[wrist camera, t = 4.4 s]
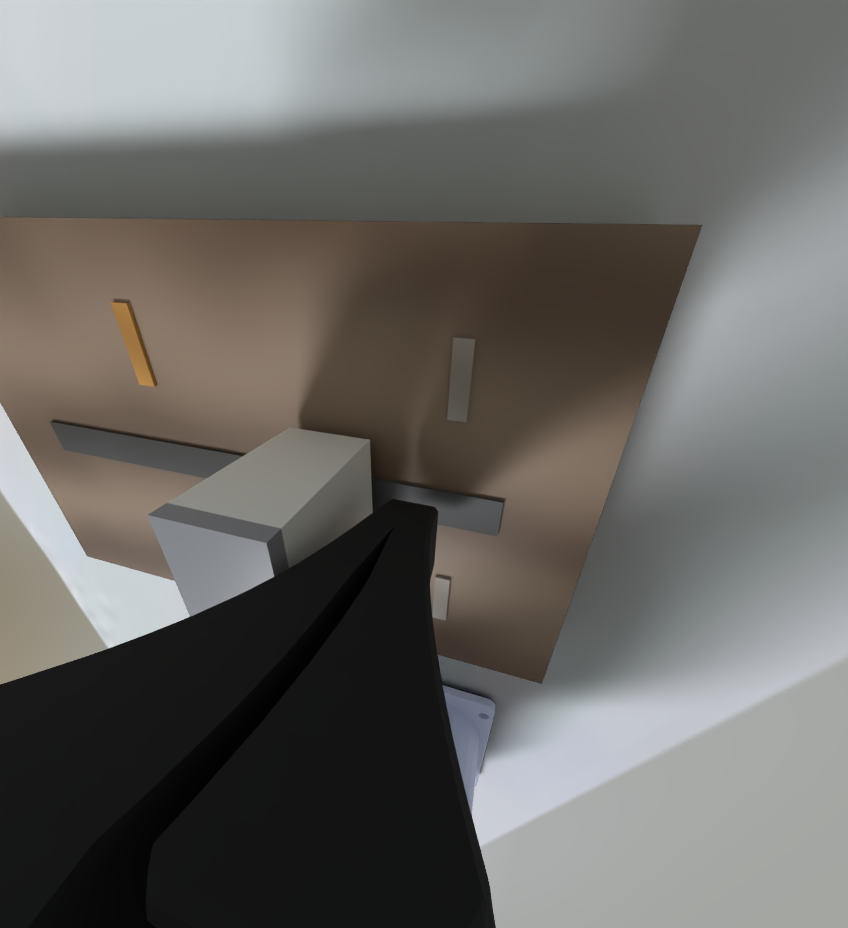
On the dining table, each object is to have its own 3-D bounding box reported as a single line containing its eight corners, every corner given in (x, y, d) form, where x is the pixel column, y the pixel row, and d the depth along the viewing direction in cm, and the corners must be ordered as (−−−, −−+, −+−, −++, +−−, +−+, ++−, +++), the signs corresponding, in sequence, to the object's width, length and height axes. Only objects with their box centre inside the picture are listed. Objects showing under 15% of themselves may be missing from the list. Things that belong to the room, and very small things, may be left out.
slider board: (540, 625, 15) (541, 686, 13) (135, 525, 20) (84, 557, 17) (657, 239, 8) (705, 224, 6) (0, 226, 13) (-110, 215, 11)
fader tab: (374, 549, 11) (298, 681, 8) (306, 534, 12) (204, 651, 8) (369, 439, 10) (266, 542, 6) (289, 427, 10) (146, 515, 6)
